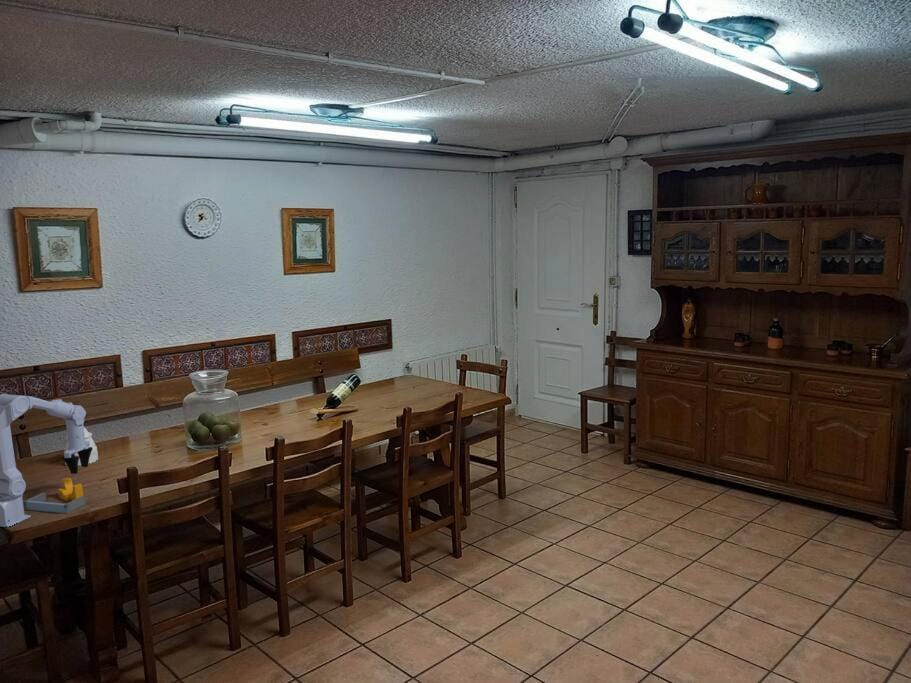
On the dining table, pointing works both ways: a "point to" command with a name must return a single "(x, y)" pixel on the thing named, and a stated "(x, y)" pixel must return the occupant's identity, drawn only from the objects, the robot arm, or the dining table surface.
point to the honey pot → (94, 452)
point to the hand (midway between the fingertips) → (79, 470)
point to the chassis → (52, 504)
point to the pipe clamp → (70, 490)
